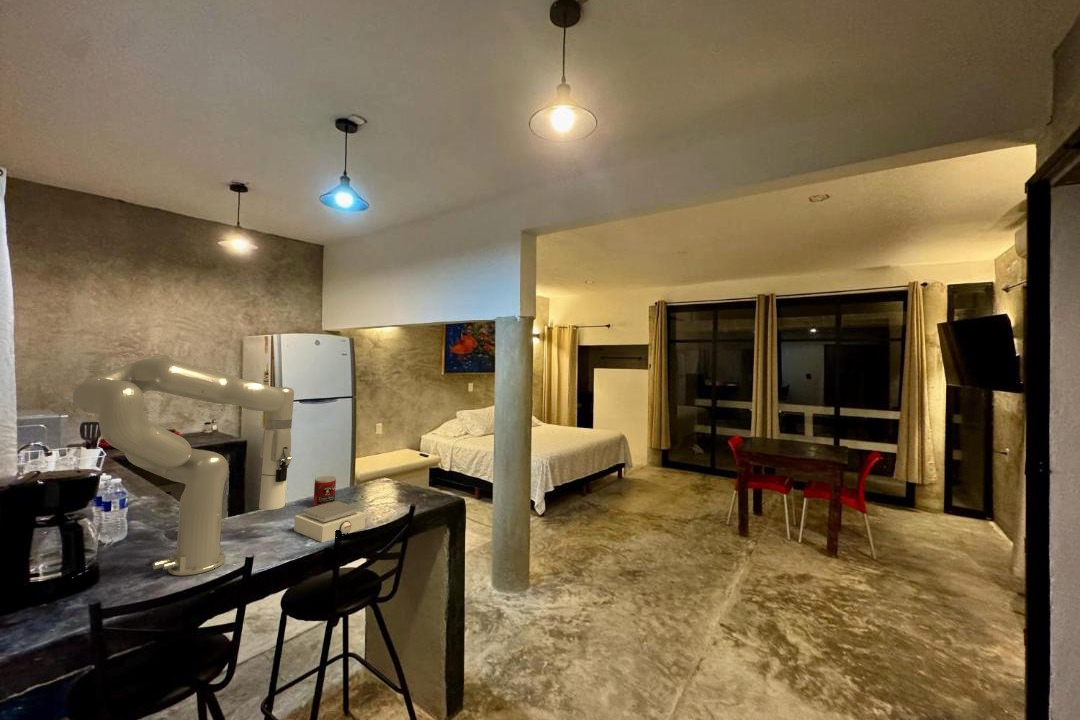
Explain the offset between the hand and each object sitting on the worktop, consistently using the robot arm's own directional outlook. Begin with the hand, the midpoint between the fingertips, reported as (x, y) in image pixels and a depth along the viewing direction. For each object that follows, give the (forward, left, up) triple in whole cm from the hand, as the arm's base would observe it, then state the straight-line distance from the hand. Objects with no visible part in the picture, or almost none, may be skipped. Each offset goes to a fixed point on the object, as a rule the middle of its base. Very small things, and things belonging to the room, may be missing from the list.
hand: (274, 478), depth 141 cm
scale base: (+16, -8, -19) cm, 26 cm away
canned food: (+29, +16, -19) cm, 38 cm away
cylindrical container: (0, 0, -9) cm, 9 cm away
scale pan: (+16, -8, -13) cm, 22 cm away
